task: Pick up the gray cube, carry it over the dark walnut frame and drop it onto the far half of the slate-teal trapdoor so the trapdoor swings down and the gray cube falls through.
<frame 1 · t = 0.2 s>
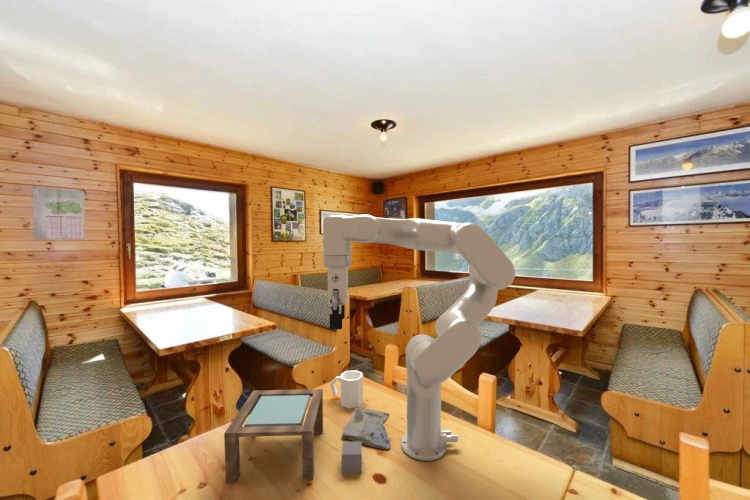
hand: (337, 323, 89), 36 cm above the table, tool pointing down, fingers open, 9 cm apart
trapdoor: (280, 410, 90), point 12 cm above the table, hinge at 0.0°
mug: (346, 402, 117), on the table
gray cube: (352, 466, 85), on the table
fossil rock: (370, 430, 101), on the table
trapdoor frame: (280, 452, 90), on the table
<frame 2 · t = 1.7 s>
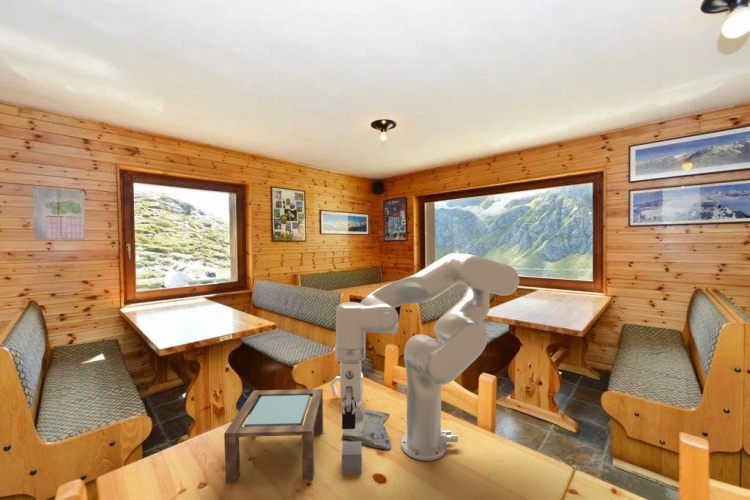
hand: (349, 417, 84), 13 cm above the table, tool pointing down, fingers open, 9 cm apart
nothing on the table moved.
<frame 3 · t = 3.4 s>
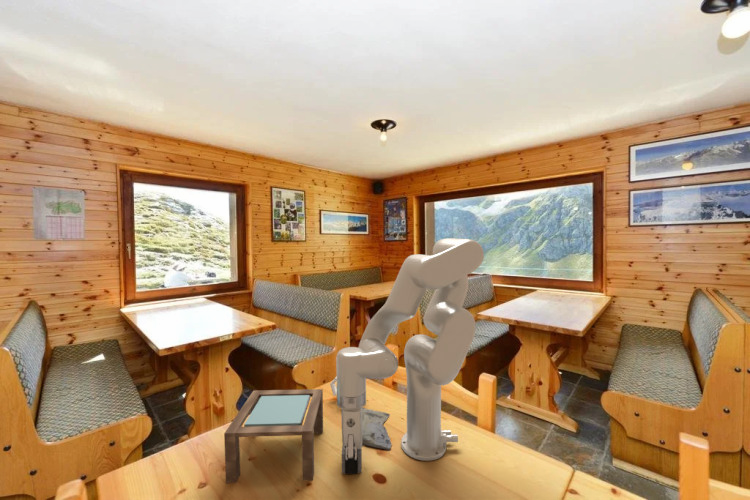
hand: (351, 464, 85), 0 cm above the table, tool pointing down, fingers closed on gray cube, 5 cm apart
gray cube: (352, 466, 85), on the table, touching gripper
everything else where it was.
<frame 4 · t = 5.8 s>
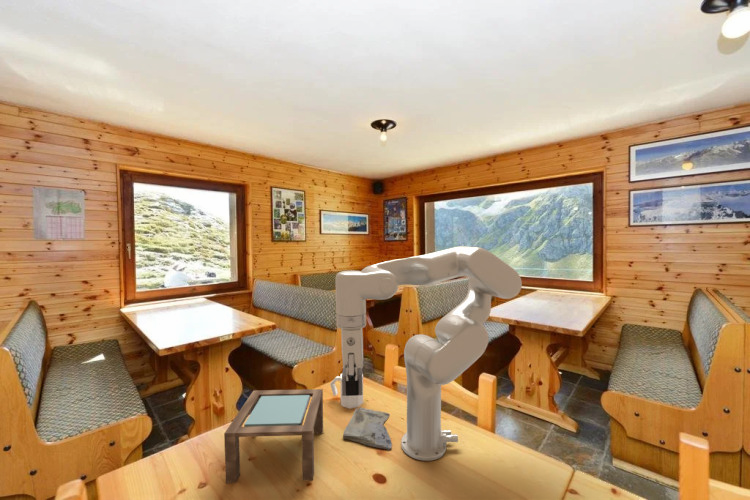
hand: (352, 388, 84), 21 cm above the table, tool pointing down, fingers closed on gray cube, 5 cm apart
gray cube: (352, 390, 84), point 20 cm above the table, touching gripper
everything else where it was.
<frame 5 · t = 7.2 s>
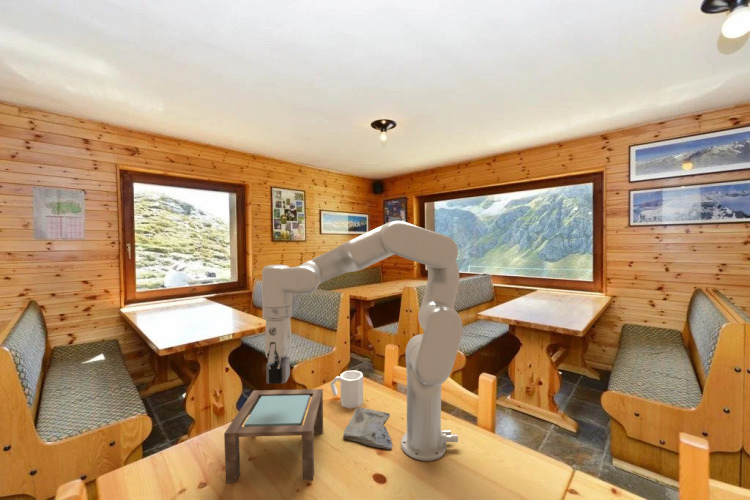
hand: (278, 377, 88), 22 cm above the table, tool pointing down, fingers closed on gray cube, 5 cm apart
gray cube: (278, 378, 88), point 21 cm above the table, touching gripper
everything else where it was.
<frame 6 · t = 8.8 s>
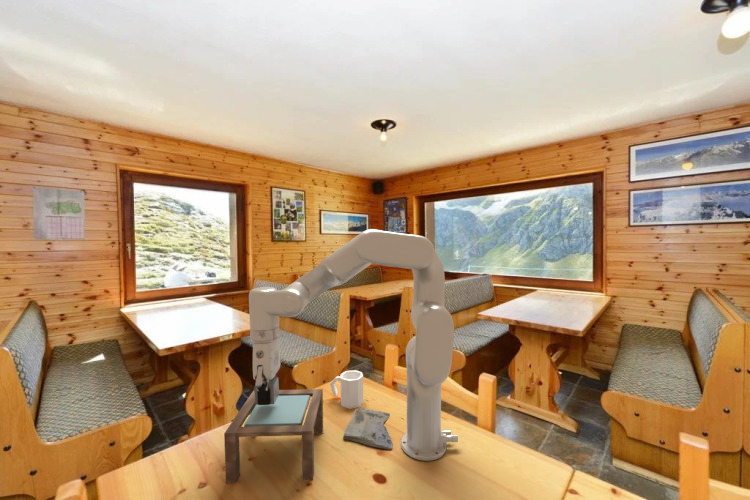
hand: (267, 398, 89), 16 cm above the table, tool pointing down, fingers closed on gray cube, 5 cm apart
gray cube: (267, 399, 89), point 15 cm above the table, touching gripper
everything else where it was.
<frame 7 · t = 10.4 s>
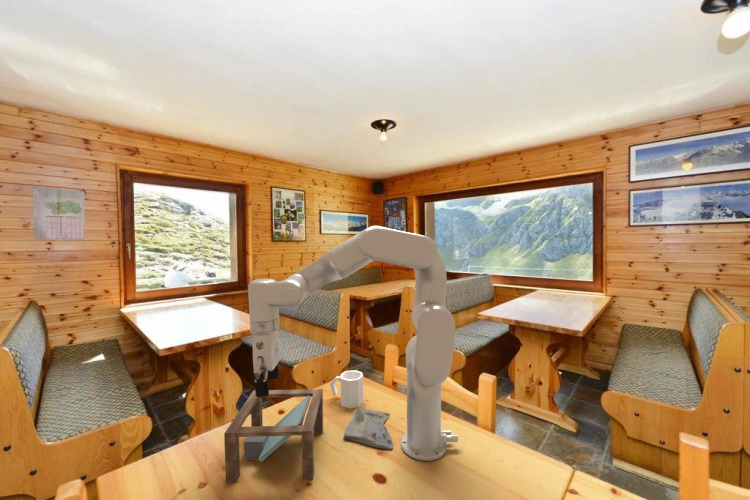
hand: (267, 386, 89), 19 cm above the table, tool pointing down, fingers open, 9 cm apart
trapdoor: (286, 426, 90), point 7 cm above the table, hinge at -41.7°, touching gray cube
gray cube: (266, 444, 90), point 2 cm above the table, tilted 90°, touching trapdoor
everything else where it was.
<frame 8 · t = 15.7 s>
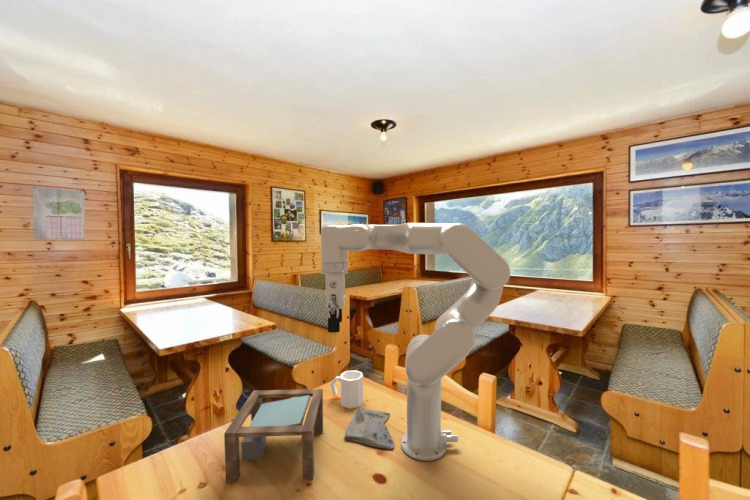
hand: (335, 326, 95), 33 cm above the table, tool pointing down, fingers open, 9 cm apart
trapdoor: (280, 414, 90), point 11 cm above the table, hinge at -9.5°
gray cube: (263, 444, 90), point 2 cm above the table, tilted 90°
everything else where it was.
at the end: gray cube point 2.4 cm above the table; gray cube inside the target area on the trapdoor frame (1.6 cm from its centre), point 2.4 cm above the trapdoor frame's base; the gripper is holding nothing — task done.
